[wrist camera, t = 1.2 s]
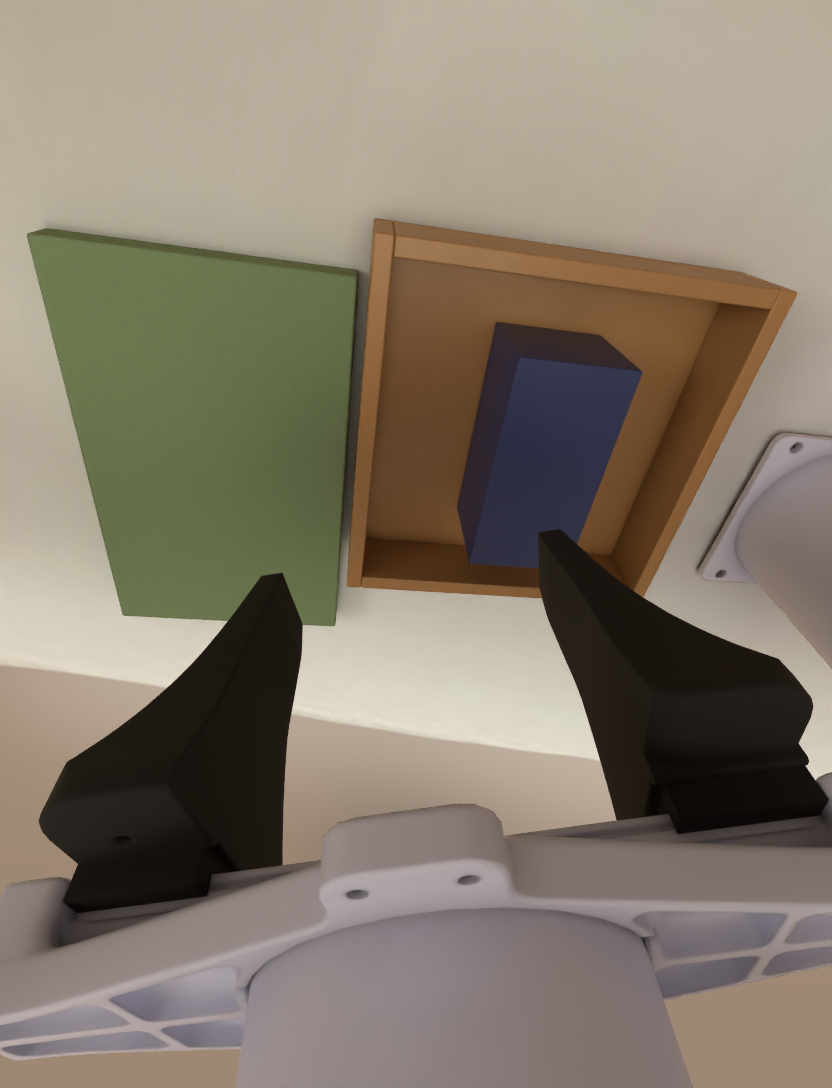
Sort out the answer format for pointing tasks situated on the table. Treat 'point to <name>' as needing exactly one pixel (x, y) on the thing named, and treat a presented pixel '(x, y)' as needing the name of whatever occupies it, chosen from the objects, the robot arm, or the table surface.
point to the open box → (458, 373)
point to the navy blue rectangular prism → (540, 439)
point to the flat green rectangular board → (206, 416)
